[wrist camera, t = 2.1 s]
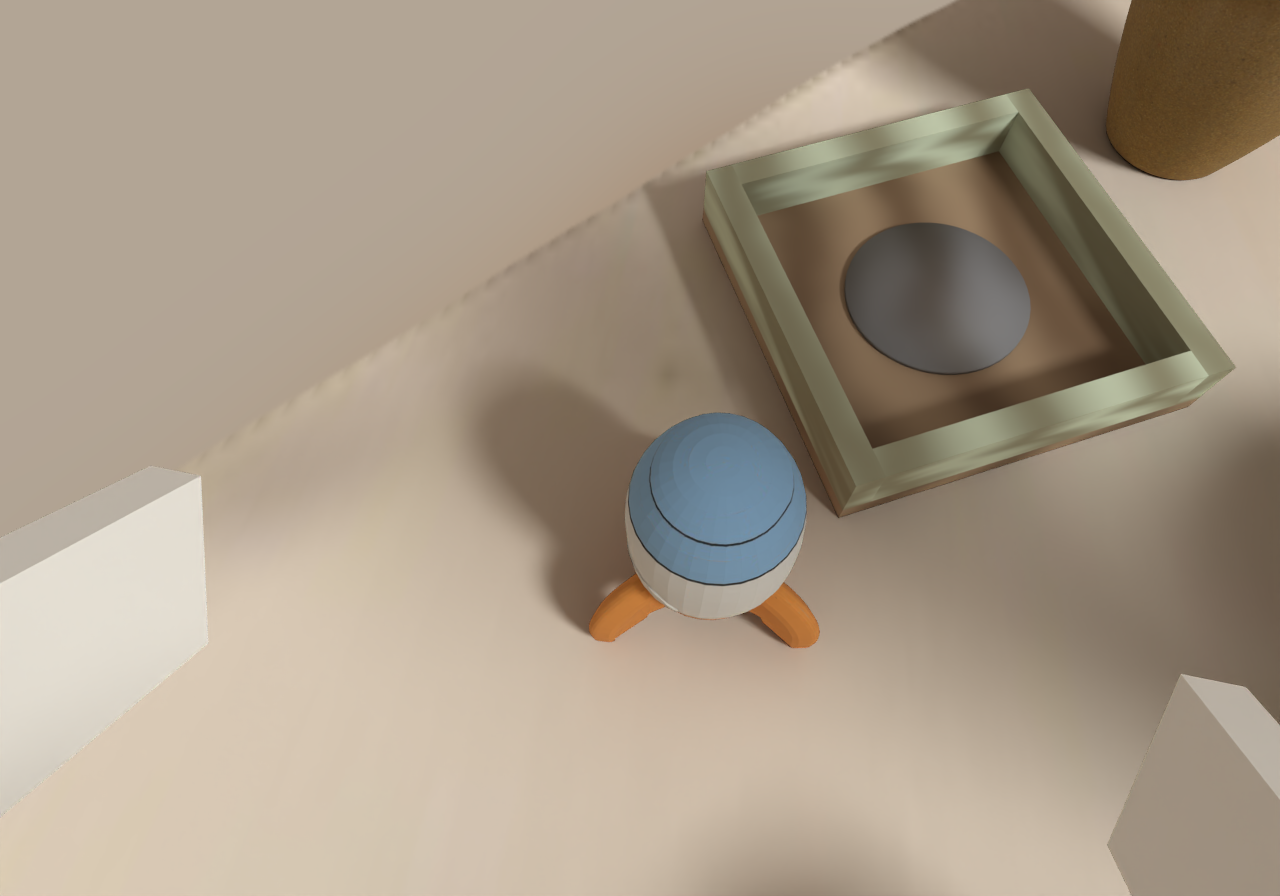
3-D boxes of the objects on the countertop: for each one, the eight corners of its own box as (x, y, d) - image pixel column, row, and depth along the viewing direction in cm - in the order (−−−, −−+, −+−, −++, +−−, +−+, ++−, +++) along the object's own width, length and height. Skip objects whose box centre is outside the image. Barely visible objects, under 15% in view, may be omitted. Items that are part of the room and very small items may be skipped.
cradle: (1002, 140, 52) (1028, 88, 49) (1188, 406, 44) (1235, 367, 40) (702, 220, 50) (706, 171, 46) (838, 517, 41) (856, 486, 38)
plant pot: (1214, 272, 48) (1457, 23, 33) (999, 134, 52) (1131, -136, 38) (1340, 138, 52) (1604, -135, 38) (1131, 22, 57) (1294, -259, 42)
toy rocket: (595, 691, 39) (508, 527, 27) (620, 499, 45) (559, 296, 33) (819, 701, 37) (833, 530, 25) (813, 499, 43) (822, 286, 31)
